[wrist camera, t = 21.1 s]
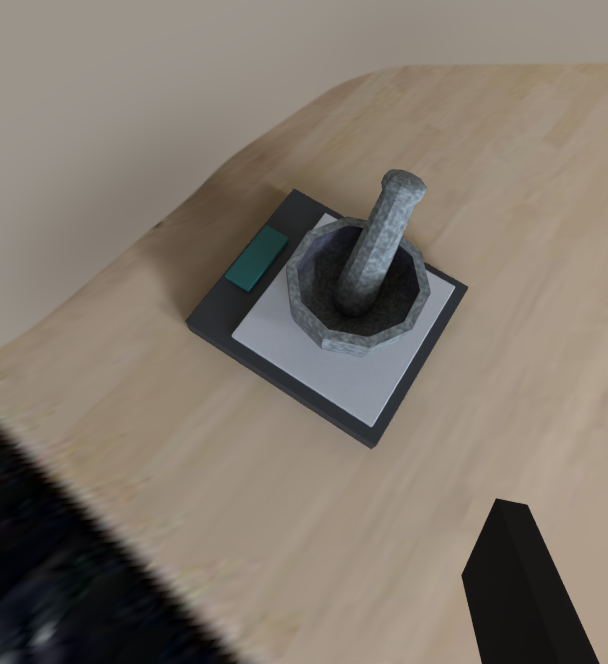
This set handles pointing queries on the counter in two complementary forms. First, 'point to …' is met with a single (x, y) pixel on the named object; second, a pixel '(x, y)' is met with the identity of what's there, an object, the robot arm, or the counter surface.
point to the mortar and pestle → (361, 275)
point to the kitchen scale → (297, 347)
